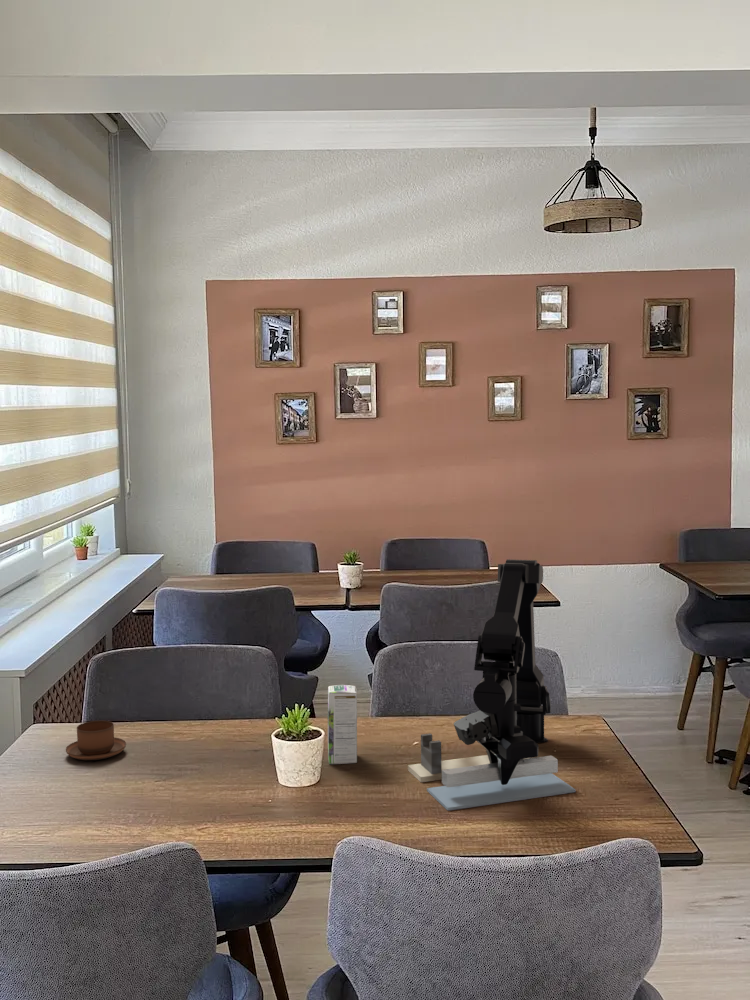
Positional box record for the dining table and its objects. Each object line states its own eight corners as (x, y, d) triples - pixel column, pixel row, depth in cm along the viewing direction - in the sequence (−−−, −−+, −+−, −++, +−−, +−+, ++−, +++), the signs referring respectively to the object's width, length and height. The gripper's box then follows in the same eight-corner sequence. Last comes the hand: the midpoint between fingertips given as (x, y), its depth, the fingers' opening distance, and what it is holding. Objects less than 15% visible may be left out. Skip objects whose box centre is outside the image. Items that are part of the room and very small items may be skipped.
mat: (549, 774, 194) (549, 771, 194) (575, 792, 185) (575, 789, 185) (426, 790, 187) (426, 788, 186) (447, 810, 177) (447, 807, 177)
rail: (551, 768, 190) (551, 755, 190) (557, 772, 188) (557, 759, 188) (441, 783, 183) (441, 770, 183) (447, 787, 181) (446, 774, 181)
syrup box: (327, 755, 207) (326, 685, 206) (356, 754, 207) (355, 684, 206) (328, 764, 201) (327, 692, 200) (358, 763, 202) (357, 691, 201)
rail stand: (519, 755, 205) (519, 721, 204) (536, 766, 198) (535, 731, 198) (407, 770, 198) (407, 734, 197) (420, 782, 191) (420, 745, 190)
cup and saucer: (53, 761, 206) (52, 731, 206) (90, 743, 218) (89, 714, 217) (102, 768, 202) (101, 737, 201) (138, 749, 213) (137, 720, 213)
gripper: (439, 689, 191) (440, 770, 192) (480, 716, 173) (481, 806, 174) (494, 683, 194) (494, 763, 195) (539, 709, 176) (540, 797, 178)
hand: (500, 781), depth 186 cm, fingers closed on rail, 2 cm apart
